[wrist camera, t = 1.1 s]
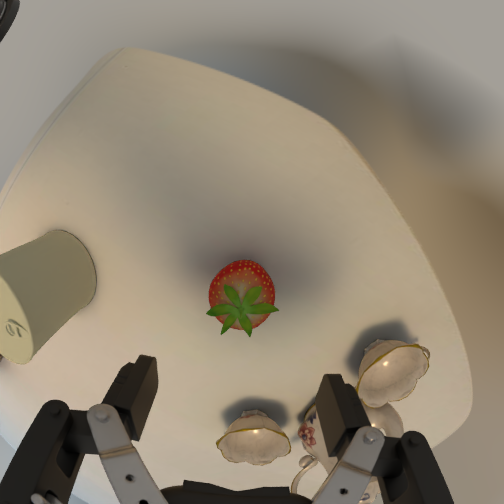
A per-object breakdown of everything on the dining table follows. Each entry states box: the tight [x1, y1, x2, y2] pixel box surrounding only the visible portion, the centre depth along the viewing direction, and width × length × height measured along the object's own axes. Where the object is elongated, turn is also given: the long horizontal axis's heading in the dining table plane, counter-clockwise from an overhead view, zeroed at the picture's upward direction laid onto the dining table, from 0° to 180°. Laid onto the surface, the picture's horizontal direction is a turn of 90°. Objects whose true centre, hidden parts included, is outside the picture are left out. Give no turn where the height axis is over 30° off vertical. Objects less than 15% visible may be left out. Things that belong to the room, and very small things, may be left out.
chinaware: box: [216, 339, 430, 504], centre depth 23 cm, size 28×17×17 cm, turn 130°
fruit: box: [206, 260, 279, 337], centre depth 22 cm, size 5×5×8 cm
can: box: [0, 230, 96, 364], centre depth 20 cm, size 9×9×12 cm
